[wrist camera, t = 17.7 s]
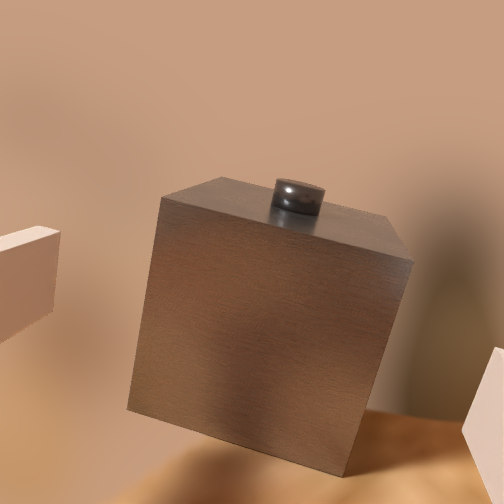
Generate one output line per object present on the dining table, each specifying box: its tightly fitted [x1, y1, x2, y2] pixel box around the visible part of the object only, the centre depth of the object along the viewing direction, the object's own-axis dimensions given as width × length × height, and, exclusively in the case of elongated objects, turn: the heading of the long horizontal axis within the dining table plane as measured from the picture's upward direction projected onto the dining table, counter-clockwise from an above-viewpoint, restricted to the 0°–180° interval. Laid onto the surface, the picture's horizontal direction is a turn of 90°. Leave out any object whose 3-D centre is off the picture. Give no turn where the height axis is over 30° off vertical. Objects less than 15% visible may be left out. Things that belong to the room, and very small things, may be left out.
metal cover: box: [127, 177, 414, 477], centre depth 23 cm, size 10×10×11 cm
